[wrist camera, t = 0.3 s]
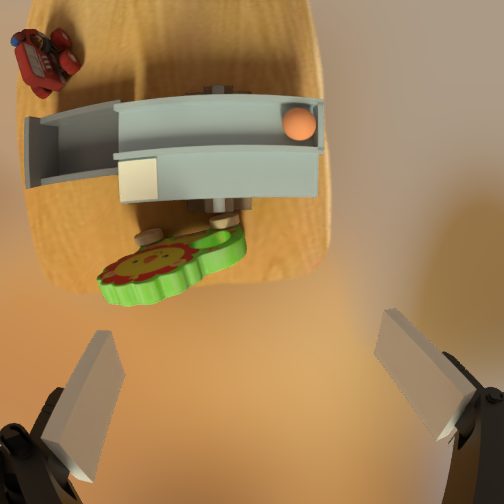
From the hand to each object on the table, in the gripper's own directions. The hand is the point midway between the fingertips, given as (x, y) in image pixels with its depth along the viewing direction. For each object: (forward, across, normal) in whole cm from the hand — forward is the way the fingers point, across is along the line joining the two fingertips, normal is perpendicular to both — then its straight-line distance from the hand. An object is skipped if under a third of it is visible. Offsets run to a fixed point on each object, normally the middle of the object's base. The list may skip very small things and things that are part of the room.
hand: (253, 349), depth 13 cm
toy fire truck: (+26, -25, +26) cm, 45 cm away
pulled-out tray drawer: (+26, -18, +12) cm, 34 cm away
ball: (+16, +6, +12) cm, 21 cm away
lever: (+19, -1, +9) cm, 22 cm away
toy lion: (+26, -6, -2) cm, 27 cm away
